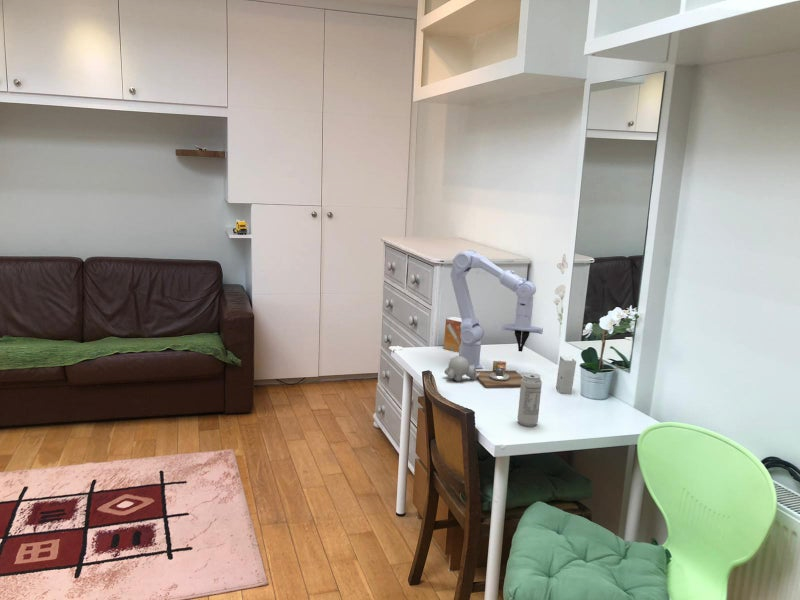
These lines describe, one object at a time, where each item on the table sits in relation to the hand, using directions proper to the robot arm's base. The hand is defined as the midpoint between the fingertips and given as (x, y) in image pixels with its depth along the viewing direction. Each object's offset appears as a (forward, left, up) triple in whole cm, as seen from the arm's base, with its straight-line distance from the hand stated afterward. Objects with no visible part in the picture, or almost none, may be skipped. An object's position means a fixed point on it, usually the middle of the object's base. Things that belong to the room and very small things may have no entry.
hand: (520, 350), depth 249 cm
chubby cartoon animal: (+5, -23, -10) cm, 25 cm away
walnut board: (+6, -9, -9) cm, 14 cm away
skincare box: (+18, +10, -10) cm, 23 cm away
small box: (-35, -14, -10) cm, 39 cm away
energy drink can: (+46, -15, -10) cm, 49 cm away
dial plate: (+5, -9, -8) cm, 13 cm away
